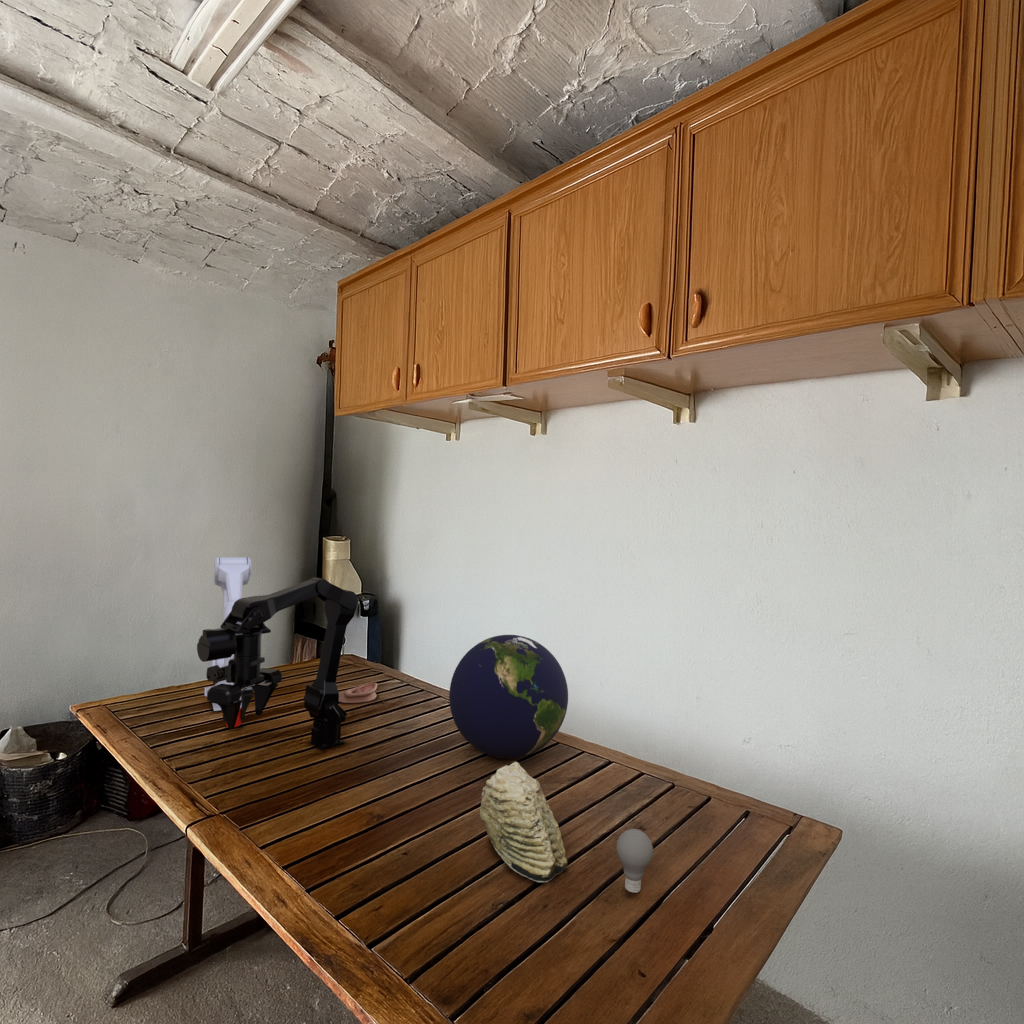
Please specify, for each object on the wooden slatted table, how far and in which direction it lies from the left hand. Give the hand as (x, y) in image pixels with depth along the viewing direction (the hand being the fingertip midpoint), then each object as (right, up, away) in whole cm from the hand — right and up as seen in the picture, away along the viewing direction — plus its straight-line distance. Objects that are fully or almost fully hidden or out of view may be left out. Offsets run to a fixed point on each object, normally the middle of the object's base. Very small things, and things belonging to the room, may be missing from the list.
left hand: (233, 719), depth 170 cm
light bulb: (+95, -8, -64) cm, 115 cm away
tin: (0, -1, 0) cm, 1 cm away
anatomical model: (+25, -3, +29) cm, 39 cm away
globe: (+73, -6, -10) cm, 74 cm away
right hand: (+14, +8, -25) cm, 29 cm away
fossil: (+76, -7, -55) cm, 94 cm away
